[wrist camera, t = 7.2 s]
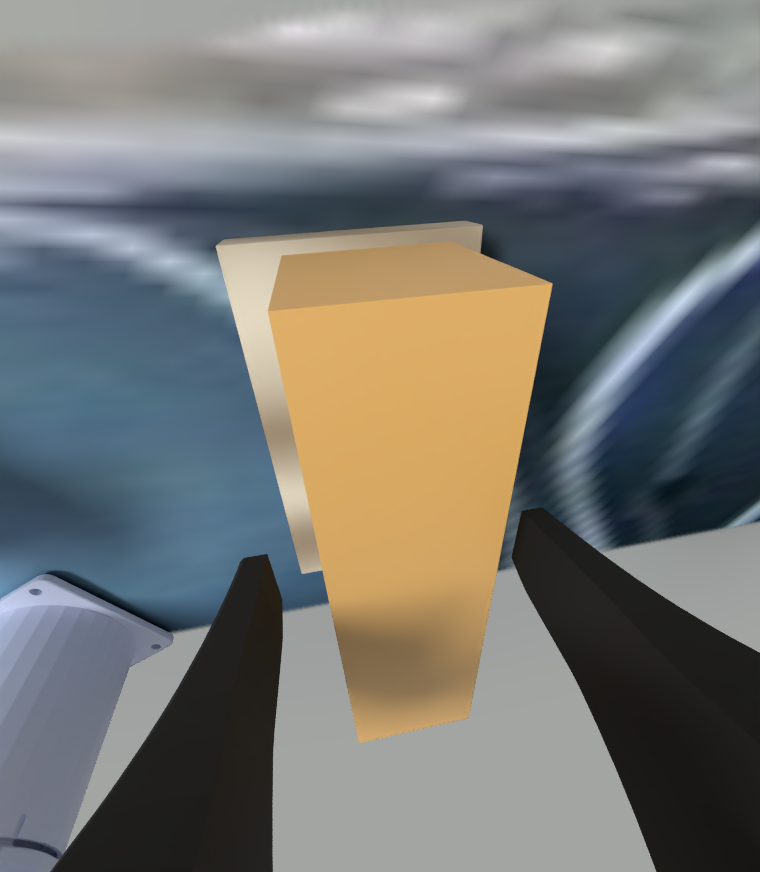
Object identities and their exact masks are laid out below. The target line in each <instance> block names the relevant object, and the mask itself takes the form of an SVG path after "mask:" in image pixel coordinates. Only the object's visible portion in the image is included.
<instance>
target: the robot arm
mask: <svg viewBox="0 0 760 872" xmlns="http://www.w3.org/2000/svg"><path fill="white" fill-rule="evenodd" d="M512 559H513V562H514V564H515V567H516V569H517V572H518V574H519V577H520V579H521V581H522V583H523V586H524V588H525V590H526V592H527V594H528V596H529V597H530V600H531V601H532V603H533V604H534V607H535V608H536V610H537V612H538V614H539V616H540V617H541V619H542V621H543V622H544V624H545V626H546V628H547V629H548V631H549V633H550V635H551V636H552V638H553V640H554V642H555V643H556V645H557V647H558V649H559V650H560V652H561V654H562V656H563V657H564V659H565V661H566V662H567V664H568V666H569V668H570V670H571V672H572V673H573V676H574V677H575V679H576V681H577V683H578V685H579V687H580V689H581V691H582V694H583V696H584V698H585V700H586V702H587V704H588V707H589V709H590V711H591V713H592V715H593V717H594V720H595V722H596V724H597V726H598V729H599V730H600V733H601V735H602V737H603V740H604V742H605V745H606V746H607V749H608V751H609V754H610V756H611V758H612V761H613V763H614V765H615V767H616V770H617V772H618V775H619V777H620V779H621V782H622V785H623V787H624V789H625V792H626V794H627V797H628V799H629V801H630V804H631V806H632V809H633V811H634V814H635V816H636V819H637V822H638V824H639V827H640V829H641V832H642V835H643V837H644V840H645V842H646V845H647V848H648V850H649V853H650V856H651V858H652V861H653V864H654V866H655V869H656V872H760V653H759V652H757V651H755V650H753V649H752V648H750V647H748V646H746V645H744V644H742V643H740V642H739V641H737V640H735V639H733V638H731V637H729V636H728V635H726V634H724V633H722V632H720V631H719V630H717V629H715V628H713V627H712V626H710V625H708V624H707V623H705V622H703V621H702V620H700V619H698V618H697V617H695V616H693V615H692V614H690V613H688V612H687V611H685V610H683V609H682V608H680V607H678V606H676V605H675V604H674V603H672V602H671V601H669V600H667V599H665V598H664V597H663V596H661V595H660V594H658V593H657V592H655V591H654V590H652V589H650V588H649V587H648V586H646V585H645V584H643V583H642V582H640V581H639V580H637V579H636V578H634V577H633V576H632V575H630V574H629V573H627V572H626V571H625V570H623V569H622V568H620V567H619V566H618V565H616V564H615V563H613V562H612V561H611V560H609V559H608V558H607V557H605V556H604V555H603V554H601V553H600V552H599V551H597V550H596V549H595V548H593V547H592V546H591V545H589V544H588V543H587V542H586V541H584V540H583V539H582V538H580V537H579V536H578V535H576V534H575V533H574V532H573V531H571V530H570V529H569V528H567V527H566V526H565V525H564V524H562V523H561V522H560V521H559V520H557V519H556V518H555V517H553V516H552V515H551V514H549V513H548V512H547V511H546V510H544V509H543V508H536V509H530V510H525V511H522V512H521V517H520V522H519V526H518V531H517V535H516V540H515V544H514V549H513V554H512ZM282 619H283V618H282V598H281V595H280V591H279V588H278V585H277V582H276V579H275V576H274V573H273V570H272V567H271V564H270V561H269V558H268V555H267V554H265V555H259V556H253V557H247V558H243V560H242V561H241V562H240V564H239V567H238V569H237V572H236V574H235V577H234V579H233V581H232V584H231V586H230V588H229V590H228V593H227V595H226V597H225V599H224V601H223V603H222V605H221V608H220V610H219V612H218V614H217V616H216V618H215V620H214V622H213V624H212V626H211V628H210V630H209V632H208V634H207V636H206V638H205V640H204V642H203V644H202V645H201V647H200V649H199V651H198V653H197V655H196V657H195V658H194V660H193V662H192V664H191V665H190V667H189V669H188V671H187V673H186V674H185V676H184V678H183V680H182V681H181V683H180V685H179V687H178V689H177V690H176V692H175V693H174V695H173V697H172V698H171V700H170V702H169V703H168V705H167V707H166V708H165V710H164V712H163V713H162V715H161V716H160V718H159V720H158V721H157V723H156V724H155V726H154V727H153V729H152V730H151V732H150V734H149V735H148V737H147V738H146V740H145V741H144V743H143V744H142V746H141V747H140V749H139V750H138V752H137V753H136V755H135V756H134V758H133V759H132V761H131V762H130V764H129V765H128V766H127V768H126V769H125V771H124V772H123V774H122V775H121V777H120V778H119V780H118V781H117V782H116V784H115V785H114V787H113V788H112V790H111V791H110V792H109V794H108V795H107V797H106V798H105V799H104V801H103V802H102V803H101V805H100V806H99V808H98V809H97V810H96V812H95V813H94V814H93V816H92V817H91V818H90V820H89V821H88V822H87V824H86V825H85V826H84V827H83V829H82V830H81V831H80V833H79V834H78V835H77V837H76V838H75V839H74V841H73V842H72V843H71V845H70V846H69V847H68V849H67V850H66V847H67V844H68V841H69V838H70V835H71V832H72V829H73V827H74V824H75V821H76V818H77V815H78V812H79V810H80V807H81V804H82V801H83V798H84V795H85V793H86V790H87V787H88V784H89V781H90V778H91V775H92V772H93V770H94V767H95V764H96V761H97V758H98V755H99V753H100V750H101V747H102V744H103V741H104V738H105V735H106V733H107V730H108V727H109V724H110V721H111V718H112V716H113V713H114V710H115V707H116V704H117V701H118V698H119V696H120V693H121V690H122V687H123V684H124V681H125V678H126V676H127V673H128V669H129V667H131V666H133V665H134V664H136V663H138V662H140V661H142V660H144V659H146V658H148V657H149V656H151V655H153V654H155V653H157V652H159V651H161V650H163V649H164V648H166V647H168V646H170V645H171V644H172V642H173V635H172V634H171V633H169V632H167V631H165V630H163V629H161V628H159V627H157V626H155V625H153V624H151V623H149V622H147V621H145V620H143V619H141V618H138V617H136V616H134V615H132V614H130V613H128V612H126V611H124V610H122V609H120V608H118V607H116V606H114V605H112V604H110V603H108V602H106V601H104V600H102V599H100V598H98V597H96V596H94V595H92V594H90V593H88V592H86V591H84V590H82V589H80V588H78V587H76V586H74V585H72V584H70V583H68V582H66V581H64V580H61V579H59V578H57V577H55V576H53V575H48V574H43V575H39V576H37V577H35V578H34V579H32V580H30V581H29V582H27V583H25V584H24V585H22V586H21V587H19V588H17V589H16V590H14V591H12V592H11V593H9V594H8V595H6V596H4V597H3V598H1V599H0V872H273V864H272V863H273V861H272V795H273V794H272V792H273V790H272V789H273V745H274V744H273V743H274V728H275V718H276V707H277V697H278V686H279V675H280V664H281V652H282V641H283V640H282V639H283V626H282V625H283V620H282ZM65 850H66V851H65Z"/></svg>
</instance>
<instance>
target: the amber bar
mask: <svg viewBox="0 0 760 872" xmlns="http://www.w3.org/2000/svg"><path fill="white" fill-rule="evenodd" d="M552 284H553V283H550V282H548V281H545V280H543V279H540V278H538V277H536V276H533V275H531V274H528V273H526V272H524V271H521V270H519V269H516V268H514V267H512V266H509V265H507V264H504V263H502V262H499V261H497V260H495V259H492V258H490V257H487V256H485V255H483V254H480V253H478V252H475V251H473V250H471V249H468V248H466V247H463V246H461V245H458V244H456V243H454V242H440V243H427V244H415V245H403V246H391V247H378V248H366V249H354V250H342V251H330V252H317V253H305V254H293V255H282V256H281V260H280V264H279V268H278V272H277V276H276V280H275V284H274V288H273V292H272V296H271V300H270V304H269V308H268V315H269V320H270V325H271V329H272V334H273V339H274V343H275V348H276V353H277V358H278V362H279V367H280V372H281V376H282V381H283V386H284V391H285V395H286V400H287V405H288V410H289V414H290V419H291V424H292V428H293V433H294V438H295V443H296V447H297V452H298V457H299V461H300V466H301V471H302V476H303V480H304V485H305V490H306V494H307V499H308V504H309V509H310V513H311V518H312V523H313V527H314V532H315V537H316V542H317V546H318V551H319V556H320V561H321V565H322V570H323V575H324V579H325V584H326V589H327V594H328V598H329V603H330V608H331V612H332V617H333V622H334V627H335V631H336V636H337V641H338V645H339V650H340V655H341V659H342V664H343V669H344V674H345V678H346V683H347V688H348V692H349V697H350V702H351V707H352V711H353V716H354V720H355V726H356V730H357V735H358V740H359V743H361V742H366V741H370V740H375V739H379V738H383V737H388V736H392V735H397V734H401V733H405V732H410V731H414V730H419V729H423V728H427V727H432V726H436V725H441V724H445V723H449V722H454V721H458V720H463V719H467V718H469V713H470V709H471V703H472V698H473V693H474V688H475V682H476V677H477V672H478V667H479V662H480V656H481V651H482V646H483V641H484V636H485V631H486V626H487V621H488V615H489V610H490V605H491V600H492V595H493V589H494V584H495V579H496V574H497V569H498V564H499V558H500V553H501V548H502V543H503V538H504V533H505V527H506V522H507V517H508V512H509V507H510V501H511V496H512V491H513V486H514V481H515V476H516V470H517V465H518V460H519V455H520V450H521V445H522V439H523V434H524V429H525V424H526V419H527V413H528V408H529V403H530V398H531V393H532V388H533V382H534V377H535V372H536V367H537V362H538V356H539V351H540V346H541V341H542V336H543V331H544V325H545V320H546V315H547V310H548V305H549V300H550V294H551V289H552Z"/></svg>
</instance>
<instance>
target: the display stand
mask: <svg viewBox="0 0 760 872" xmlns="http://www.w3.org/2000/svg"><path fill="white" fill-rule="evenodd" d="M482 229H483V225H480V224H476V223H472V222H468V221H457V222H444V223H431V224H418V225H405V226H392V227H379V228H366V229H353V230H339V231H326V232H313V233H300V234H287V235H274V236H261V237H248V238H235V239H224V240H223V241H221V242H220V243H219V244H218V245H216V249H217V253H218V257H219V261H220V264H221V268H222V272H223V276H224V280H225V283H226V287H227V291H228V295H229V299H230V302H231V306H232V310H233V314H234V318H235V321H236V325H237V329H238V333H239V337H240V340H241V344H242V348H243V352H244V356H245V359H246V363H247V367H248V371H249V375H250V378H251V382H252V386H253V390H254V394H255V397H256V401H257V405H258V409H259V413H260V416H261V420H262V424H263V428H264V432H265V435H266V439H267V443H268V447H269V451H270V454H271V458H272V462H273V466H274V470H275V473H276V477H277V481H278V485H279V489H280V492H281V496H282V500H283V504H284V508H285V511H286V515H287V519H288V523H289V527H290V530H291V534H292V538H293V542H294V546H295V549H296V553H297V557H298V561H299V565H300V568H301V572H302V574H304V573H309V572H315V571H321V570H322V565H321V561H320V556H319V551H318V546H317V542H316V537H315V532H314V527H313V523H312V518H311V513H310V509H309V504H308V499H307V494H306V490H305V485H304V480H303V476H302V471H301V466H300V461H299V457H298V452H297V447H296V443H295V438H294V433H293V428H292V424H291V419H290V414H289V410H288V405H287V400H286V395H285V391H284V386H283V381H282V376H281V372H280V367H279V362H278V358H277V353H276V348H275V343H274V339H273V334H272V329H271V325H270V320H269V315H268V308H269V304H270V300H271V296H272V292H273V288H274V284H275V280H276V276H277V272H278V268H279V264H280V260H281V256H282V255H293V254H305V253H317V252H330V251H342V250H354V249H366V248H378V247H391V246H403V245H415V244H427V243H440V242H454V243H456V244H458V245H461V246H463V247H466V248H468V249H471V250H473V251H475V252H478V253H480V251H481V240H482Z"/></svg>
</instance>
